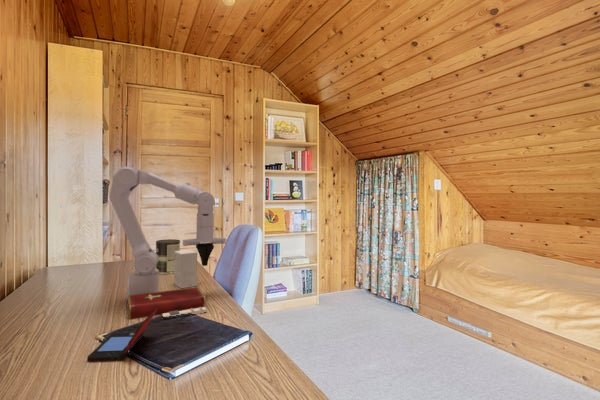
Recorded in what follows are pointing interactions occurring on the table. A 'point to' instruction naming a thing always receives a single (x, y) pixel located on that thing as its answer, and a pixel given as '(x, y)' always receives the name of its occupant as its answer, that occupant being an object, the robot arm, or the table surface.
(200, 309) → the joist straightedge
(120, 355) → the handheld game console
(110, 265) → the table surface
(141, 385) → the table surface
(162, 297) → the hardcover book
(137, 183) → the robot arm
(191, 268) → the small box
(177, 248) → the coffee can
